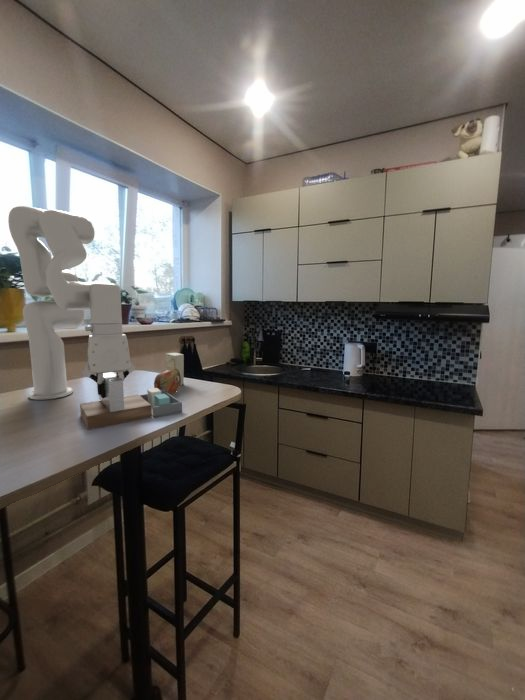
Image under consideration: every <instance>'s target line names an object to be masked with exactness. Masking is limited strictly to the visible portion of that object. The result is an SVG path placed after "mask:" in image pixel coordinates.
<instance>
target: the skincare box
mask: <svg viewBox="0 0 525 700" xmlns="http://www.w3.org/2000/svg"><path fill="white" fill-rule="evenodd" d="M184 361H185V356H184V354H183V353H180V352H168V353H167V352H166V353H165V371H166V370H169V369H177V370H178V371H179V373H180V376H181V384H180V386H183V385H182V384H184V383H185V382H184V378H185V375H184V371H185V369H184V368H185V367H184V366H185V365H184V364H185V363H184Z"/></svg>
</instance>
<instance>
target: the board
mask: <svg viewBox="0 0 525 700" xmlns="http://www.w3.org/2000/svg"><path fill="white" fill-rule="evenodd" d="M140 395H141V394H135V395H134V394H133V395H128V396H124V410H119V411H114V412H110V411H109V410H108V409H107V408H106V406H105V405H104V404H103V402H102V401H101V400H96V401H90V402H84V403H82V402H81V403H79V407H80V408H79V409H80V411H79V412H80V417H81V419H82V421H83V422H84V424H85V426H86V429H87V430H88V431H89V430H95V429H98V428H104V427H108V426H112V425H118V424H123V423H128V422H133V421H138V420H142V419H143V420H144V419H148V418H153V417H152V414H151V404H149V403H148V402H147V401H146V400H144V399H143V398H142V397H141V396H140Z"/></svg>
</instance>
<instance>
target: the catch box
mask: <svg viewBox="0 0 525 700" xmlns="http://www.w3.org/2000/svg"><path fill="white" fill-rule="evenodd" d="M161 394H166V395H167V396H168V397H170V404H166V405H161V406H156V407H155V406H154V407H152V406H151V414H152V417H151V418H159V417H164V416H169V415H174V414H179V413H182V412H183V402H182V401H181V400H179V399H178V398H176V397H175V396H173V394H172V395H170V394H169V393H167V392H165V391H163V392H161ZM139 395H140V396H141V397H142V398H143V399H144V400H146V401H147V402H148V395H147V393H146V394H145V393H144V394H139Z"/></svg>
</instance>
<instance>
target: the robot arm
mask: <svg viewBox="0 0 525 700" xmlns="http://www.w3.org/2000/svg"><path fill="white" fill-rule="evenodd" d="M8 228H9V232H10V235H11V238H12V240H13V242H14V245H15V247H16V249H17V251H18V254H19V261H20V262H19V263H20V267H21V274H22V279H23V280H22V281H23V286H24V288H25V291H26V293H27V294H28V295H29V296H32V297H36V298H37V297H39V298H52V299H53V300H36V301H31V302H29V303H27V304H26V305H24V307H23V309H22V317H23V321H24V324H25V328H26V332H27V337H28V344H29V354H30V363H31V372H32V375H31V376H32V383H33V390H32V391H30V392H29V393H28V398H29V399H31V400H35V401H36V400H37V401H38V400H40V401H41V400H53V399H58V398H64V397H67V396H69V395H71V394H72V393H73V388H72V387H70V386H68V381H67V367H66V366H67V365H66V355H65V343H64V341H63V339H62V338H61V337H60V336H59V334H57V332H56V331H55V330H57V331H58V330H70V329H77V328H80V327H81V326H82V325H83V324H84V322H85V311H89V312H90V313H89V314H90V324H89V325H85V326H84V331H85V332H88V333H89V332H90V333H91V334H89V336H88V341H87V362H86V364H85V366H83V368H82V370H81V375H82V377H83V376H84V377H86V378H89V379H91V380H92V381H94V382H95V383H96V384H97V385H96V386H97V387H96V389H97V395H98V396H99V395H100V396H101V397H102V398H105V386H104V383H103V381H102V380H103V373H110V372H113V373H115V374H116V375H117V376H118V377H119V378H121V379H122V380H123V382H124V381H125V379H126V378H127V376H128V375H129V374H130V373H132V372H134V371H135V370H136V366H135V365H134V364H133V362H132V361H131V355H130V348H129V342H128V338H127V335H126V334H125V333H124V332H123V318H122V315H123V314H122V313H123V312H122V297H121V295H122V294H121V288H120V286H119V285H118V284H117V283H112V282H85V281H80V279H79V278H78V276H77V274H76V273H75V272H73V271H72V270H70V269H72V268H75V267H78V266H79V265H81V264H82V263H84V262H85V260H86V259H87V257H88V256H87V250H86V248H85V246H84V245H88V244H91V243H92V242H93V241H94V238H95V233H96V231H95V228H94V224H93V223H92V221H91V220H90V219H89V218H88V217H86V216H85V215H81V214H78V213H72V212H68V211H63V210H58V209H43V208H38V207H32V206H26V205H25V206H23V205H22V206H21V205H19V206H15V207H12V208H11V210H10V211H9V214H8ZM39 238H44V239H45V241H46V243H47V246H48V247H49V249H48V248H47V246H46V245H45V244H44V243H43V242H42V241H41V240H39ZM52 256H53V257H52Z"/></svg>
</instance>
